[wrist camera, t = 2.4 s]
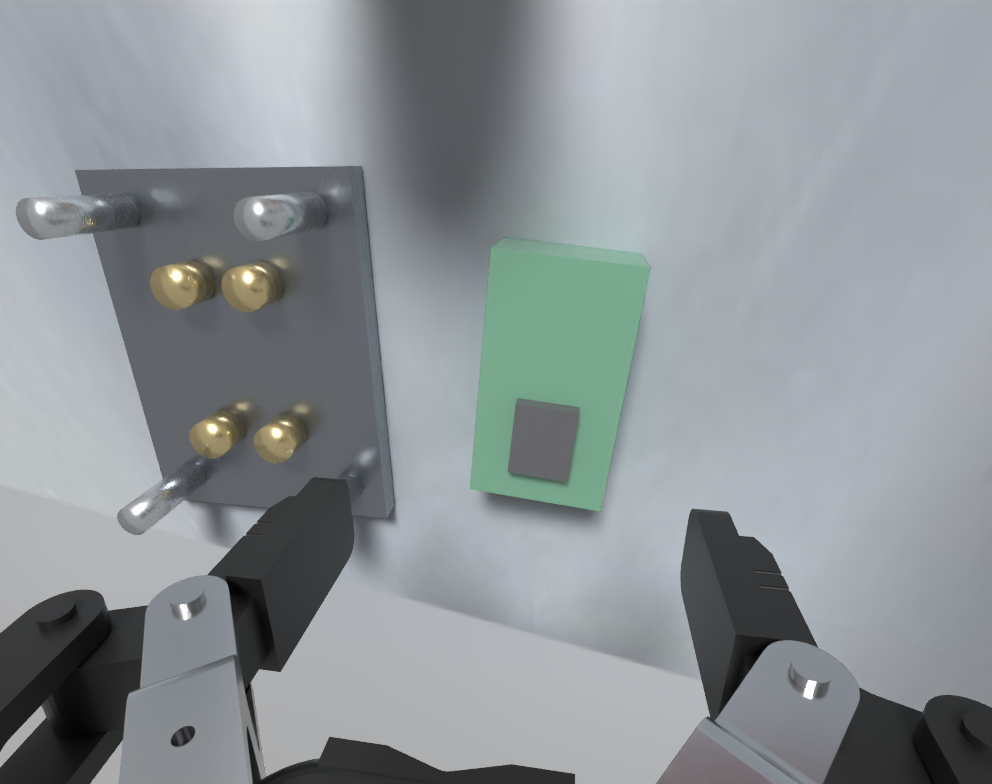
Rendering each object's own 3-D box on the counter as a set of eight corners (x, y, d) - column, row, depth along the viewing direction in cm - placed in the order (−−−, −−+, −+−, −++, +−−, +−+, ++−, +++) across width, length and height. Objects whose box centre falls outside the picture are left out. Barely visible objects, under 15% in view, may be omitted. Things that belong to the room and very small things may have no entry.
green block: (505, 236, 22) (487, 250, 18) (641, 252, 21) (652, 270, 18) (484, 449, 26) (466, 496, 22) (599, 468, 25) (600, 520, 22)
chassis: (99, 170, 23) (-27, 170, 19) (361, 166, 22) (296, 166, 17) (184, 486, 30) (106, 547, 25) (394, 504, 28) (354, 574, 23)
